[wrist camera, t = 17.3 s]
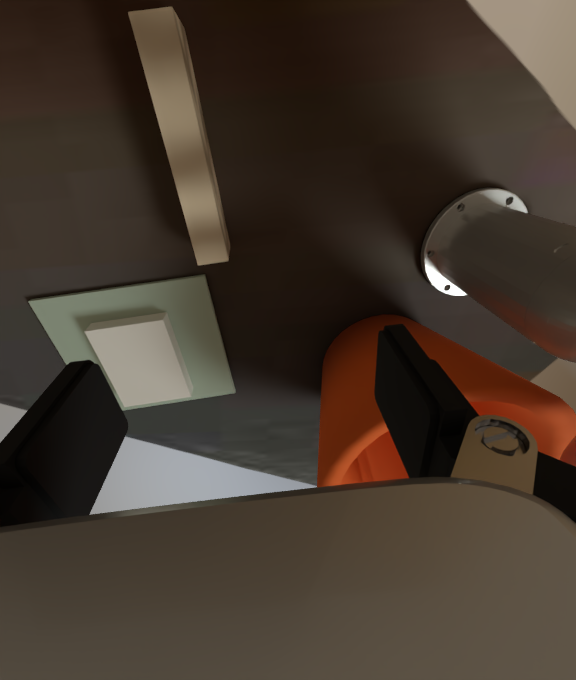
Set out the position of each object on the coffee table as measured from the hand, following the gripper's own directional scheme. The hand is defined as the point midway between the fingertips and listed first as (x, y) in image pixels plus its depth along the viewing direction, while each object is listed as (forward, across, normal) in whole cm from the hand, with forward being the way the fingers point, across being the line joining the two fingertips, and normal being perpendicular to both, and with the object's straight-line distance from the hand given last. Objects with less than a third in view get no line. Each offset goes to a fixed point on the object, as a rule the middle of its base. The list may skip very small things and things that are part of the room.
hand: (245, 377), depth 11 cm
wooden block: (+28, +5, -6) cm, 29 cm away
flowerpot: (+29, -14, +22) cm, 39 cm away
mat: (+28, +17, +15) cm, 36 cm away
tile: (+26, +17, +10) cm, 32 cm away
